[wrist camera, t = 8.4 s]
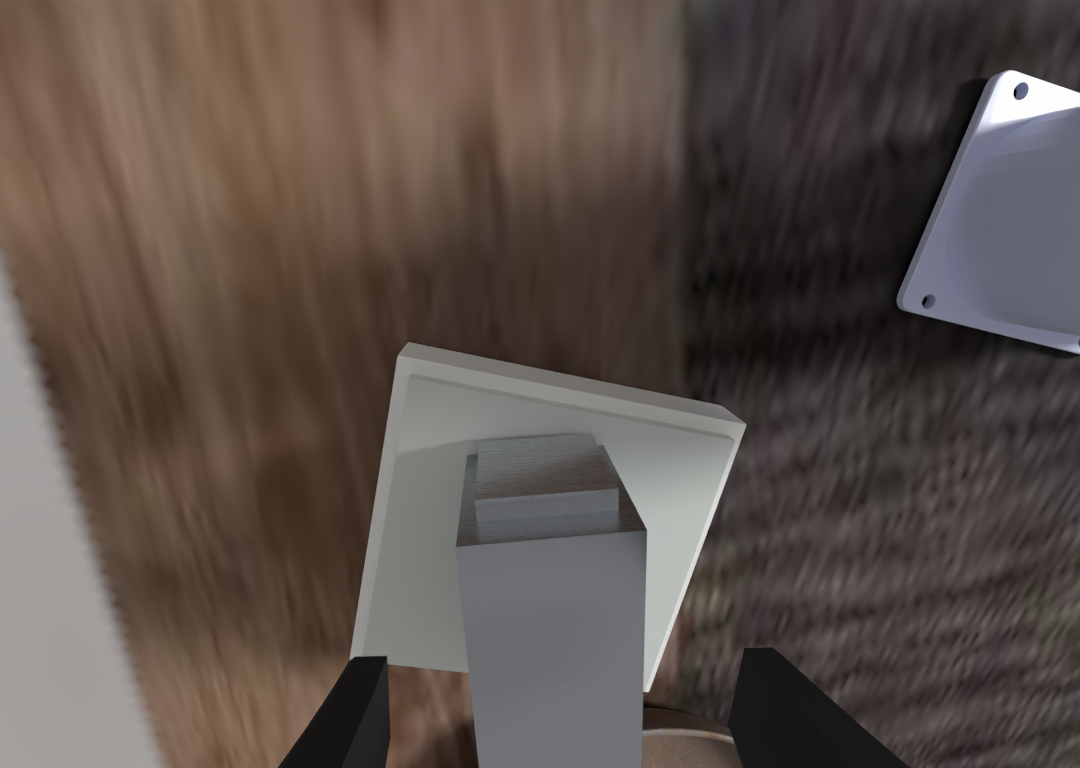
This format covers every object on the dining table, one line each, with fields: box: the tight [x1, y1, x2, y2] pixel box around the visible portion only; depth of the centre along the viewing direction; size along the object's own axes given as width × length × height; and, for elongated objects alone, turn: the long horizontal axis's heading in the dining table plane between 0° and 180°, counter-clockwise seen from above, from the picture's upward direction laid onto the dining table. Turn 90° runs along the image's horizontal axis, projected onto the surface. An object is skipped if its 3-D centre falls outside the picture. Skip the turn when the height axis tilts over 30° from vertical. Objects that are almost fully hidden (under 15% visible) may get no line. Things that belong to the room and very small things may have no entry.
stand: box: [350, 342, 747, 692], centre depth 19 cm, size 12×12×2 cm
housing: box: [456, 434, 647, 768], centre depth 15 cm, size 9×4×5 cm, turn 3°
